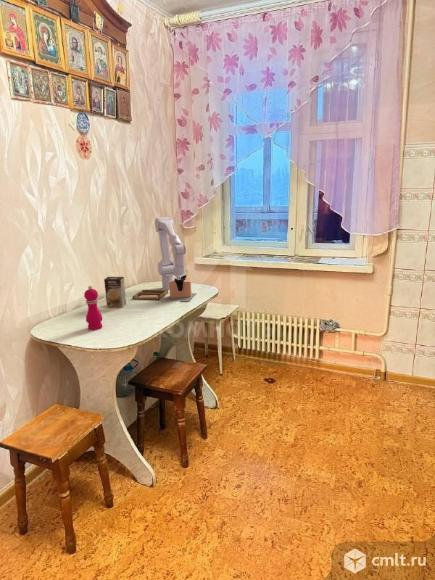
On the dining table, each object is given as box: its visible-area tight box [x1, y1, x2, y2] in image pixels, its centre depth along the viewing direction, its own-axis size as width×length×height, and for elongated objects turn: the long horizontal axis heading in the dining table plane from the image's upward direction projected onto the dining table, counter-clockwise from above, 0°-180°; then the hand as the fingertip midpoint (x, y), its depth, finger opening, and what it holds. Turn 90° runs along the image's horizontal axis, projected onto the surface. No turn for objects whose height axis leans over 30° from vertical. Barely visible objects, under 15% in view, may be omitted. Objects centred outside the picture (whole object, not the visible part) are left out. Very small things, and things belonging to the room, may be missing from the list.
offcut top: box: [138, 295, 158, 298], centre depth 225 cm, size 4×10×1 cm, turn 81°
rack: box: [132, 289, 169, 301], centre depth 229 cm, size 14×16×2 cm
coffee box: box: [103, 276, 127, 309], centre depth 212 cm, size 9×6×16 cm
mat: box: [165, 292, 198, 303], centre depth 226 cm, size 16×14×1 cm
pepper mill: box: [83, 285, 103, 331], centre depth 180 cm, size 7×7×20 cm
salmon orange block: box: [169, 279, 192, 298], centre depth 226 cm, size 4×12×9 cm, turn 87°
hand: (181, 289), depth 226 cm, fingers open, 6 cm apart
